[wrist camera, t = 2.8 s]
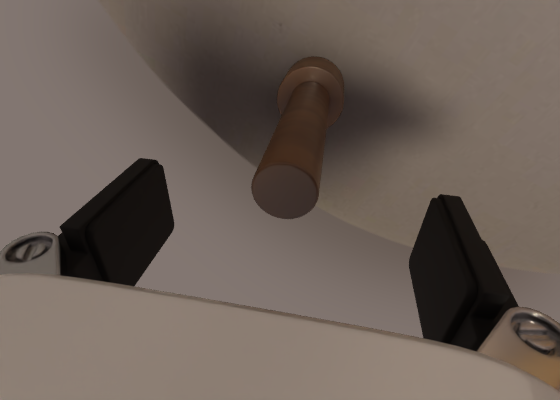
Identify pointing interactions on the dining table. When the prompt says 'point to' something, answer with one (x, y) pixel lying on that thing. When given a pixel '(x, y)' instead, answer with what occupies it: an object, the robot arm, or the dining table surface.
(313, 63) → the brown wooden stamp
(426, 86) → the dining table surface
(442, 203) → the robot arm
